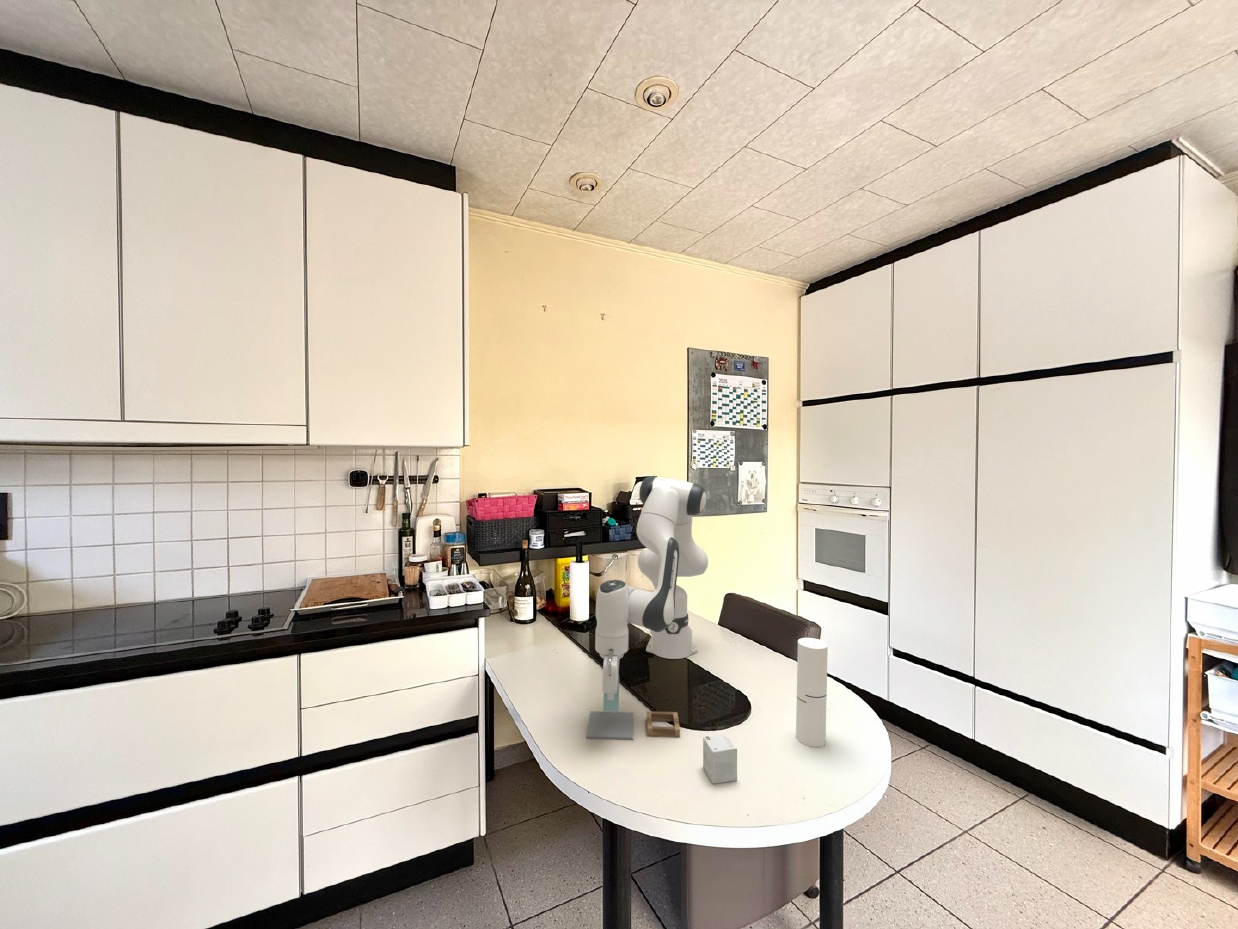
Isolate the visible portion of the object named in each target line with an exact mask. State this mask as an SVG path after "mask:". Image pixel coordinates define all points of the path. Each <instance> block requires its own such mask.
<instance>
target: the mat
mask: <svg viewBox="0 0 1238 929" xmlns="http://www.w3.org/2000/svg"><path fill="white" fill-rule="evenodd" d="M588 717H589V718H588V724H587V729H586V735H585V739H589V740H591V739H593V740H595V739H596V740H621V741H623V740H625V741H633V740H634V712H629V711H627V712H626V711H625V712H624V711H623V712H622V711H596V710H595V711H593V710H592V711H590V712H589V716H588Z"/></svg>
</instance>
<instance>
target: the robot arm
mask: <svg viewBox="0 0 1238 929" xmlns="http://www.w3.org/2000/svg"><path fill="white" fill-rule="evenodd" d="M638 492H639V495H638V496H639V500H640V502H641V503H642V504H643V507H642V510H641V512H640V514H639V518H638V519H637V520H638V521H637V524H636V531H635V532H636V536H637V539H638V540H639V542H640V543H641V544H642V545H643V546H644V547H645V548H643V549H642V550H640V552H639V555H638V558H637V566H638V569H639V570H640V572H641V574H642V575H644V576H645V577H647V578H648V579H649V581H650V582H651V583H652V585H653V587H654V591H650V590H646V589H642V588H638V587H633V586H631V585H630V586H629V585H627V583H626V582H625V581H623V580H620V579H611V580H606V581H604V582H602V583H601V584H600V585H599V587H598V590H597V593H596V601H595V602H596V603H595V619H596V627H595V640H594V641H595V643H594V646H595V647H594V648H595V651H596V652H597V653H598V654H599V656H600V657H601V658H602V659H603V663H602V664H603V665H602V693H604V694H607V699H608V700H612V701H613V700H614V694H616V693H617V686H618V674H619V673H620V672H619V671H620V670H619V669H620V659H622V658H623V657H624V656H625V655H624V654H626V653H627V652H628V651H629V627H628V624H632V625H636V626H639V627H643V628H645V629H648V630H649V632H650V635H651V636H650V638H649V641H648V643H647V645H646V649H645V651H646V652H647V653H652V654H654V655H656V656H658V657H660V658H663V659H669V660H679V659H684V658H688V657H689V656H691V655H692V654H696V653H698V649H697V647H696V646H695V645H694V644H693V630H692V628H691V627H690V626H689V620H690V618H689V614H688V594H687V591H686V590H685V589H684V588H683V587H681V586H679V585H677V580H678V577H679V578H680V577H683V578H684V577H685V578H688V577H689V578H690V577H695V576H696V577H697V576H702V575H703V574H705V573H706V571H707V568H708V565H709V559H708V555H707V553H706V551H704V549H702V548H701V547H700V546H699V545H698V544H696V542H695V540H694V539H693V534H692V533H693V532H692V530H693V529H692V527H693V526H692V525H693V517H694V516H698V515H700V514H701V513H702V511H703V510H704V508H705V507H706V505H707V504H706V503H707V494H706V493H707V492H706V489H705V488H704V486H703V485H701V484H699V483H696V482H694V483H693V482H690V481H686V480H683V479H678V478H671V477H664V476H663V477H661V476H657V475H647V476H646V477H645V478H643V480H642V481H641V484H640V487H639V490H638Z"/></svg>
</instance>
